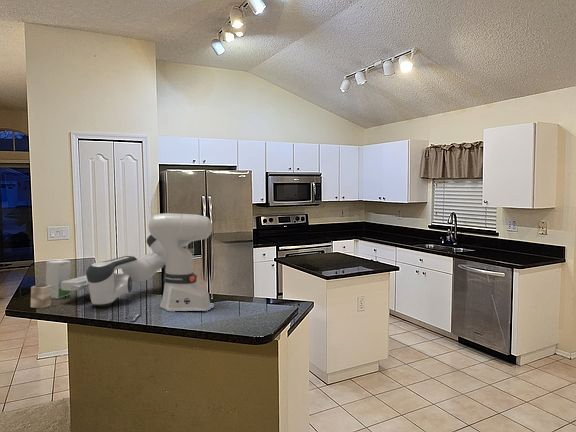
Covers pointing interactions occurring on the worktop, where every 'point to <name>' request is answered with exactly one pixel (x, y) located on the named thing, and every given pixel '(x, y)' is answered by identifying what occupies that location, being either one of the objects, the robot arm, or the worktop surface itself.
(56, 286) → the skincare box
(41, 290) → the birch marked block
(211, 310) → the worktop surface
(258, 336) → the worktop surface
